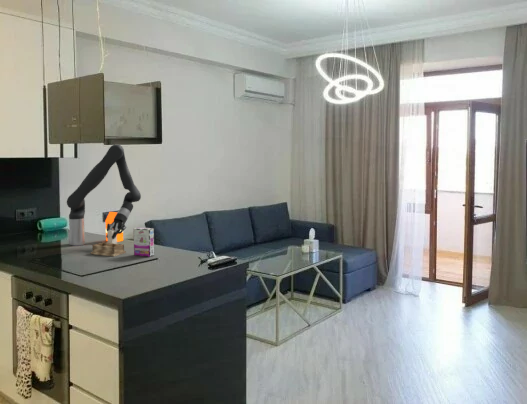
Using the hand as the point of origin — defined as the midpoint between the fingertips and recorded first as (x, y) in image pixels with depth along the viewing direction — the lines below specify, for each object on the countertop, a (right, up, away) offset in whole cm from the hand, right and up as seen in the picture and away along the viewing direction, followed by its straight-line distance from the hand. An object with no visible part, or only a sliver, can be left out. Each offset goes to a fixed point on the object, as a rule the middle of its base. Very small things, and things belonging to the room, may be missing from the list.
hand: (110, 237), depth 301 cm
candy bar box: (+25, -10, -15) cm, 30 cm away
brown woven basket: (+2, -9, -10) cm, 13 cm away
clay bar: (+1, -7, +3) cm, 8 cm away
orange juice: (-6, -5, +30) cm, 31 cm away
